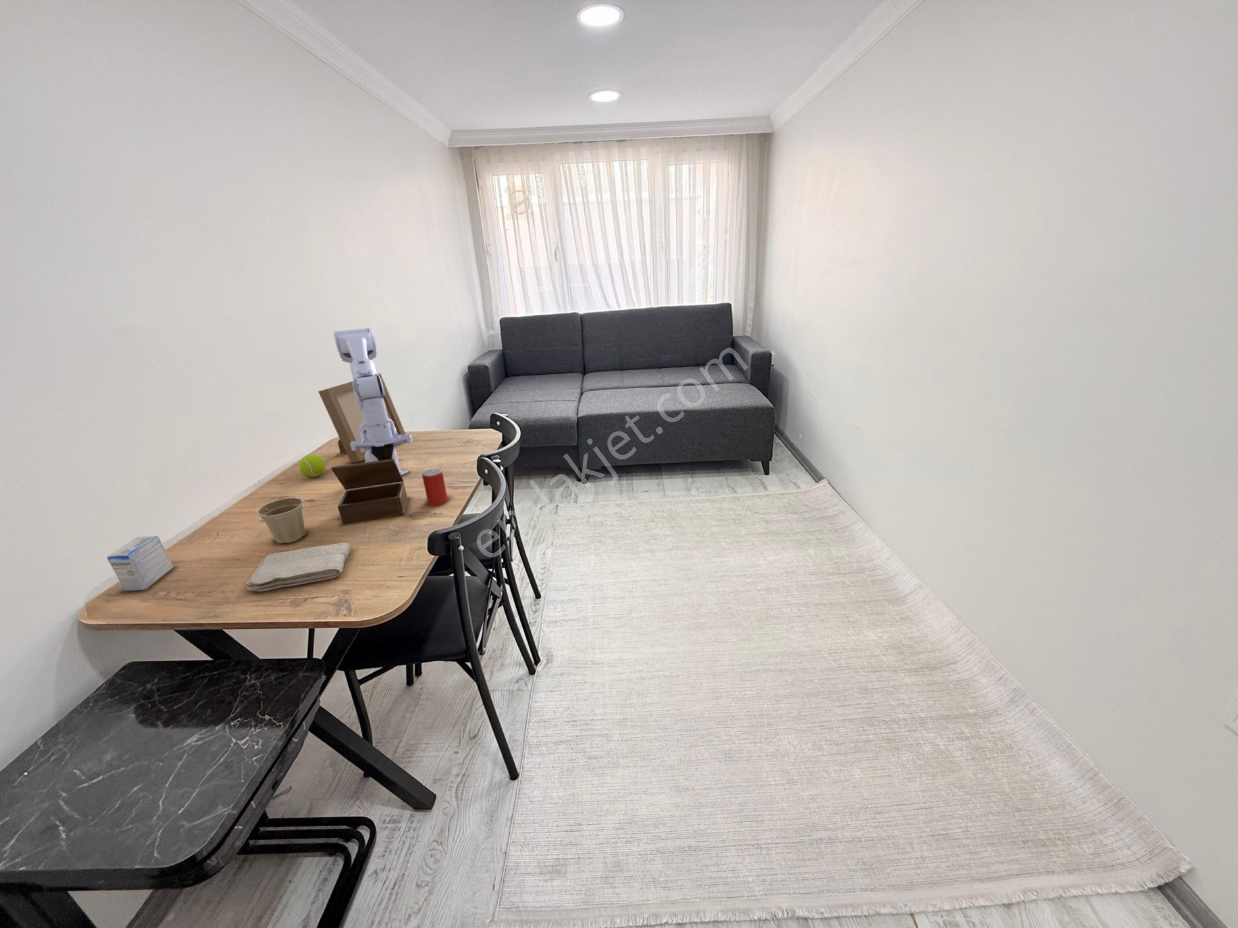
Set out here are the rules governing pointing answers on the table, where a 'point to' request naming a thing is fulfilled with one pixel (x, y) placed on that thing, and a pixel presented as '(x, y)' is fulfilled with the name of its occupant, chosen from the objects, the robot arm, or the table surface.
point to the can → (435, 487)
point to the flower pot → (284, 519)
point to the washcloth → (299, 567)
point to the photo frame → (352, 416)
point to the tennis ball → (312, 465)
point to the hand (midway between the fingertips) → (389, 470)
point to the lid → (368, 474)
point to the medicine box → (140, 563)
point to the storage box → (373, 503)
